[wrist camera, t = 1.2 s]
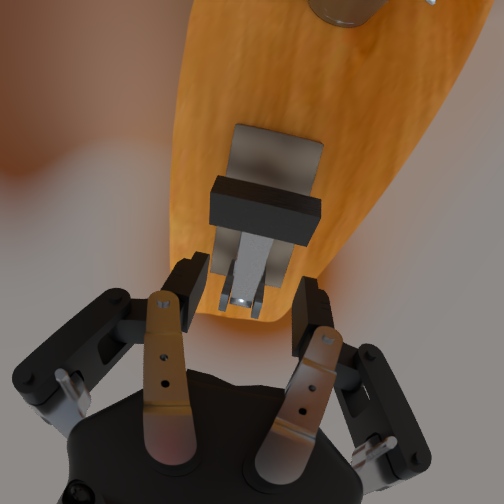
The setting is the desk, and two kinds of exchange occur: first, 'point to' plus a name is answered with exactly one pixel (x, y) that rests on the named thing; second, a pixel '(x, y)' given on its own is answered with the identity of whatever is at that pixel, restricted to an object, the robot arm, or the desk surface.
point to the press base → (270, 174)
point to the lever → (260, 226)
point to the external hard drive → (431, 1)
